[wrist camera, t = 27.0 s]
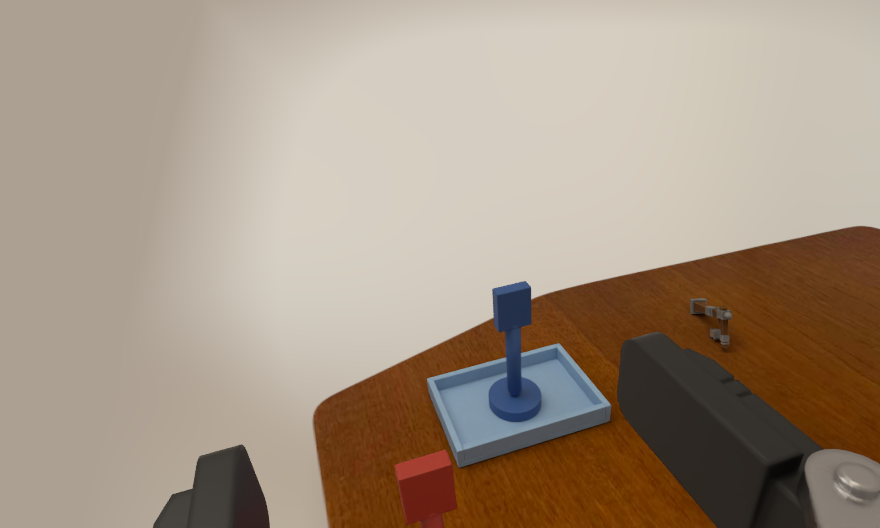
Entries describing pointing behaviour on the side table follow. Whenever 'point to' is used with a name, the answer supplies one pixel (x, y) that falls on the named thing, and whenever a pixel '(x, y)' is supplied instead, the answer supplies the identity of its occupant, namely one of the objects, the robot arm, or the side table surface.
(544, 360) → the tray
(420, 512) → the red sign on stand
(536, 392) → the blue sign on stand
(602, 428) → the side table surface
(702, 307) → the wooden post with brackets
